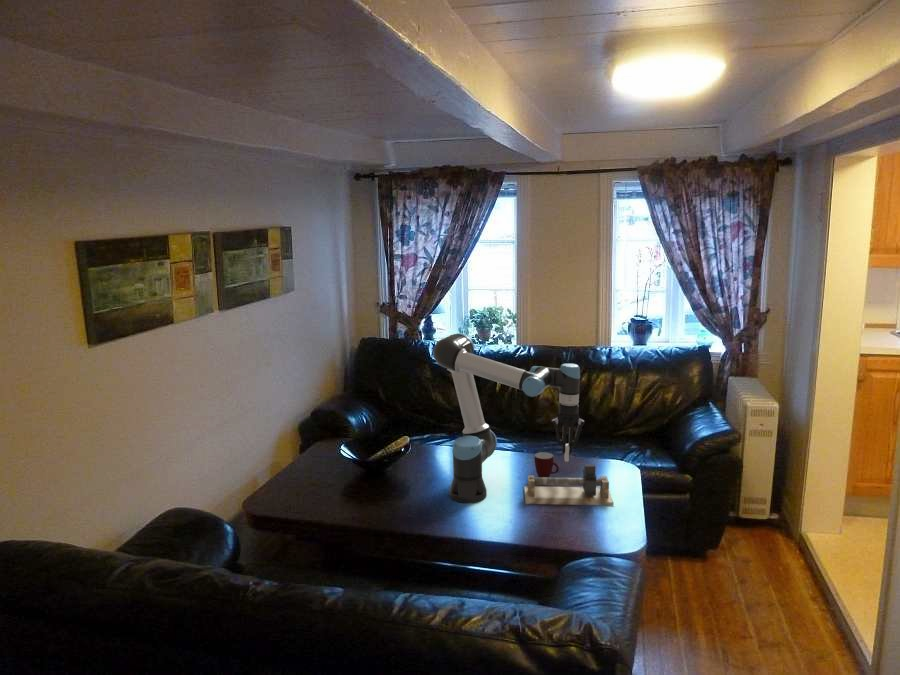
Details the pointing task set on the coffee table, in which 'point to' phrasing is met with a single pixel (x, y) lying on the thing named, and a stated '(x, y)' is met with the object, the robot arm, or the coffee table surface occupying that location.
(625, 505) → the coffee table surface
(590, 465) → the collar
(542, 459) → the mug
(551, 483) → the pipe rig
